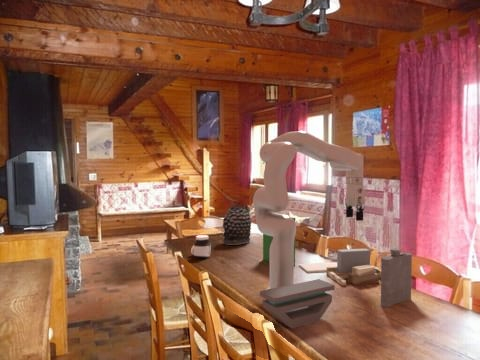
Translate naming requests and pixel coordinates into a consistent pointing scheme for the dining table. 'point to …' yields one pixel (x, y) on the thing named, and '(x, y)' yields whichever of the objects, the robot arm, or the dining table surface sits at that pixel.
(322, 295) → the sharpening stone
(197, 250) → the spread jar
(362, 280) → the walnut offcut
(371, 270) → the pine offcut
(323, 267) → the felt mat
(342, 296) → the dining table surface
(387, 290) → the hip flask
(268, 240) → the hardback book
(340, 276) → the rack
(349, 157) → the robot arm
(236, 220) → the bumpy dark dome
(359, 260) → the grey rectangular block
